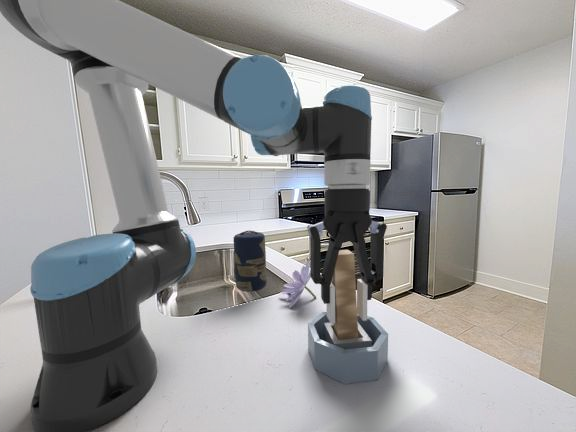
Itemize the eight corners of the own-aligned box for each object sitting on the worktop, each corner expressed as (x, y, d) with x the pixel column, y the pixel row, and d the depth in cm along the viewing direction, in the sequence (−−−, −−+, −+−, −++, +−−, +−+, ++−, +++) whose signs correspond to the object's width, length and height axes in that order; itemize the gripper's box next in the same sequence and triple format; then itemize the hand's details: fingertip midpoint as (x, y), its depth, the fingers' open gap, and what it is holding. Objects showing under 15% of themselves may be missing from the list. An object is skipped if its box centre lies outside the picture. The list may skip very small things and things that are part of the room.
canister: (261, 295, 71) (259, 233, 69) (230, 293, 72) (227, 233, 70) (270, 282, 80) (268, 228, 78) (242, 281, 82) (240, 227, 80)
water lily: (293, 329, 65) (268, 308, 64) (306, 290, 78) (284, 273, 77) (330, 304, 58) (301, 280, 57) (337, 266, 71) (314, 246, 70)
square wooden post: (339, 356, 43) (333, 255, 41) (334, 345, 46) (328, 251, 45) (359, 354, 43) (354, 253, 42) (352, 343, 46) (347, 249, 45)
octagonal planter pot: (320, 387, 38) (320, 356, 37) (304, 336, 50) (304, 313, 50) (400, 377, 39) (400, 348, 39) (364, 330, 52) (365, 308, 51)
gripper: (297, 188, 37) (300, 334, 39) (410, 186, 39) (406, 324, 41) (290, 188, 44) (293, 311, 47) (386, 186, 46) (383, 304, 49)
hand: (346, 317), depth 44 cm, fingers open, 5 cm apart
